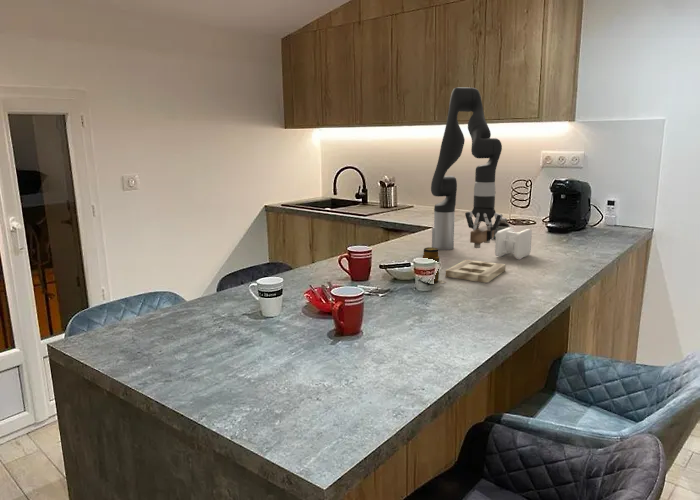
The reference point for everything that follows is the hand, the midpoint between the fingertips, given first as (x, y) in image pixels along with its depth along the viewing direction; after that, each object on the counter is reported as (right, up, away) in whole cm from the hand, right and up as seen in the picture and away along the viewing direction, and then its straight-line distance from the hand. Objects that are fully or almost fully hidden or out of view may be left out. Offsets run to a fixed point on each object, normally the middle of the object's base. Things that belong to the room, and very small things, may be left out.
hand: (482, 240), depth 195 cm
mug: (+26, +2, +68) cm, 73 cm away
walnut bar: (0, -2, 0) cm, 2 cm away
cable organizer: (+21, -7, +31) cm, 37 cm away
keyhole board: (-1, -13, +4) cm, 13 cm away
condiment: (-20, -15, -5) cm, 26 cm away
